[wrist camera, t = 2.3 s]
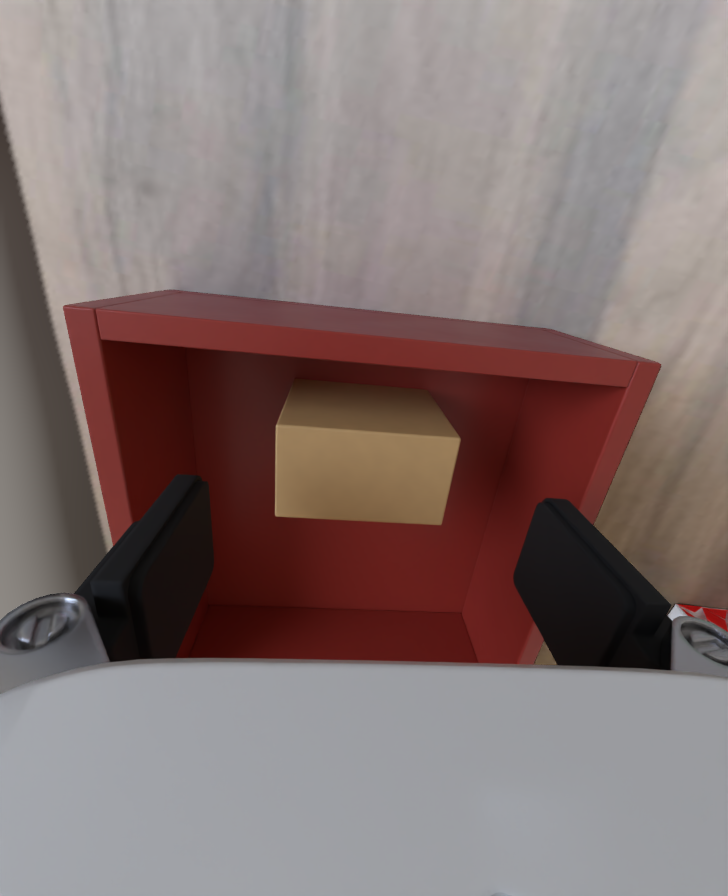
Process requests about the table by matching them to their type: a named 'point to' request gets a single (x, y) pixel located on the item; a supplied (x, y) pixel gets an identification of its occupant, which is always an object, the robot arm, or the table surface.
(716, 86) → the table surface
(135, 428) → the red open box
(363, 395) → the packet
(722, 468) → the table surface
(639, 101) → the table surface
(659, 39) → the table surface
